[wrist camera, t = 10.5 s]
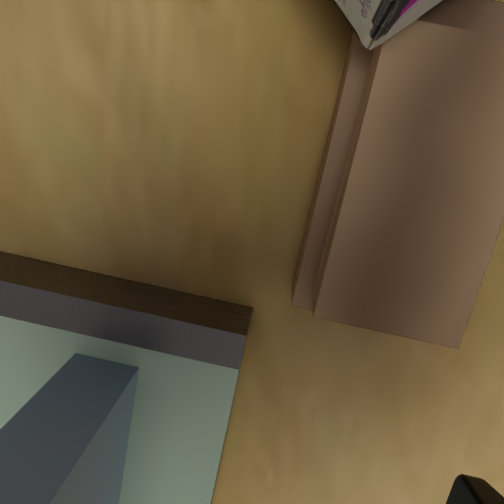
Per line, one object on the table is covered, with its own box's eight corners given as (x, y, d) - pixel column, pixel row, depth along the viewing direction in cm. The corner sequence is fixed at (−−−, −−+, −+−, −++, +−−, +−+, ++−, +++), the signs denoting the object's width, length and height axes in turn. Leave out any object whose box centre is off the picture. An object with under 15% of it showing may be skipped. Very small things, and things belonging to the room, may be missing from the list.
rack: (342, -107, 17) (361, -199, 12) (245, 343, 22) (230, 403, 17) (-57, -183, 18) (-189, -300, 13) (-68, 272, 22) (-168, 311, 18)
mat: (243, 352, 22) (241, 360, 21) (189, 598, 26) (186, 613, 25) (-7, 296, 22) (-18, 302, 22) (-23, 547, 26) (-32, 559, 26)
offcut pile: (521, 24, 18) (585, -5, 14) (426, 319, 21) (456, 362, 17) (362, -8, 18) (380, -46, 14) (291, 289, 21) (291, 325, 17)
